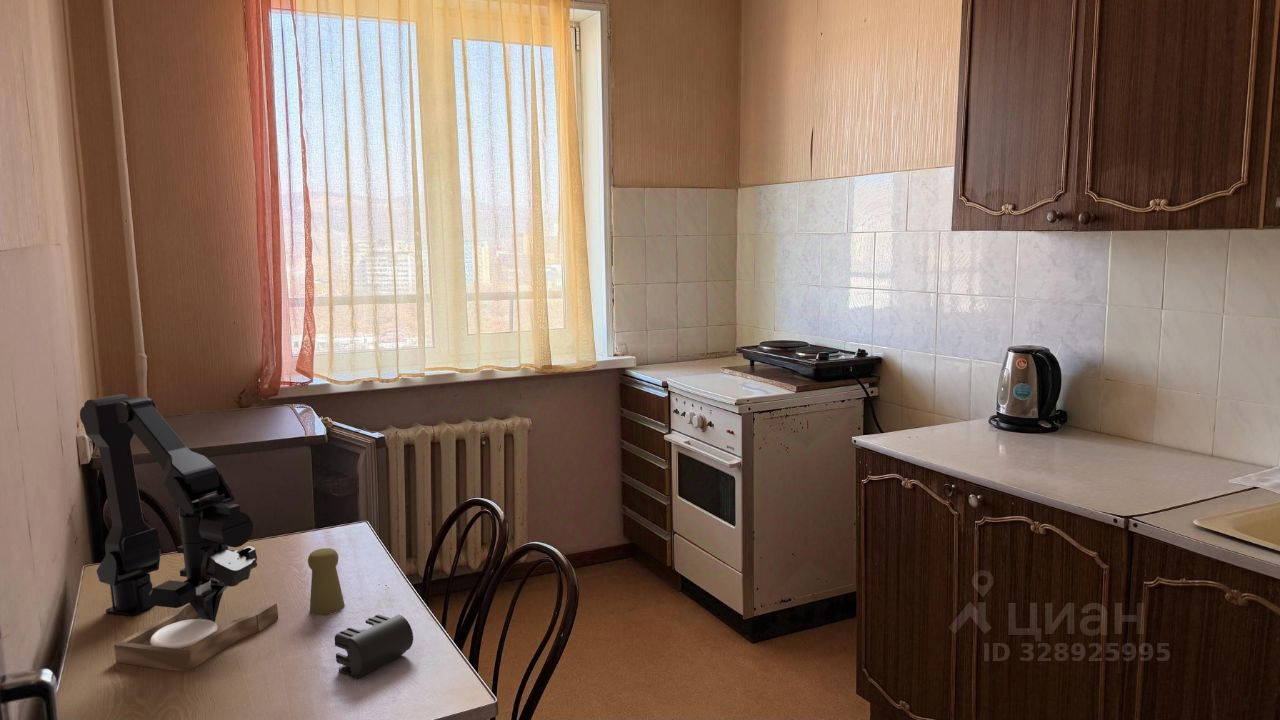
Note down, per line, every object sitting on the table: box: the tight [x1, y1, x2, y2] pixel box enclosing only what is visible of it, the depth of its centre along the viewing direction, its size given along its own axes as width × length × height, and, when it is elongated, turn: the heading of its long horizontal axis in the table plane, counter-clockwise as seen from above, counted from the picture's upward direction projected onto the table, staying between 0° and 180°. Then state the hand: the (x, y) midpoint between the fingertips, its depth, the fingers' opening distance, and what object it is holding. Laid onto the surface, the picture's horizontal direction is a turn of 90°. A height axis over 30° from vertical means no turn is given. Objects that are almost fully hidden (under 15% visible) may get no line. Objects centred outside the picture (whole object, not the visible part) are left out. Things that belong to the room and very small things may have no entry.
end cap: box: [334, 614, 414, 679], centre depth 139 cm, size 10×7×7 cm
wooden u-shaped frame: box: [113, 602, 279, 673], centre depth 150 cm, size 20×16×3 cm
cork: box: [307, 547, 346, 616], centre depth 161 cm, size 6×6×11 cm
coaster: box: [150, 618, 219, 650], centre depth 147 cm, size 10×10×4 cm
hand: (210, 624), depth 153 cm, fingers closed
